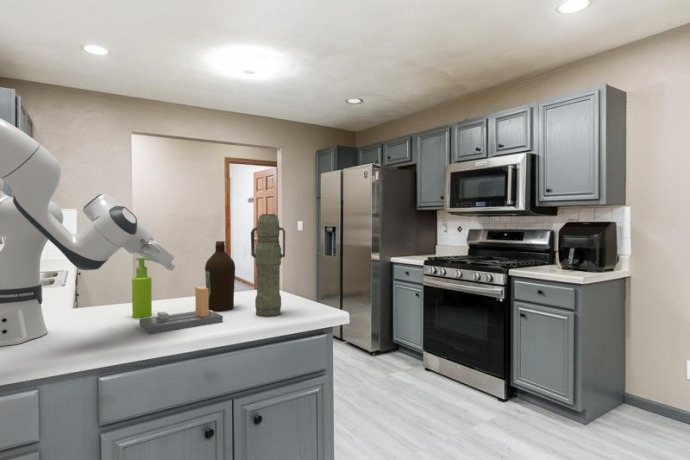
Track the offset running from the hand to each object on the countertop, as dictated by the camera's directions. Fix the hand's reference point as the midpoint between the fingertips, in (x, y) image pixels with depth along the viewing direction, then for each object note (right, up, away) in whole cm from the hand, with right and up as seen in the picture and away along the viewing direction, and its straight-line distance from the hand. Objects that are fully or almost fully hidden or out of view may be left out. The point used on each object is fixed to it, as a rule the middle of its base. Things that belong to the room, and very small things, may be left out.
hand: (172, 268), depth 130 cm
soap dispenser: (-14, -18, +12) cm, 26 cm away
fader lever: (+8, -15, +4) cm, 18 cm away
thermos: (+27, -18, +16) cm, 36 cm away
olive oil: (+8, -17, +23) cm, 30 cm away
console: (+2, -18, +2) cm, 18 cm away
